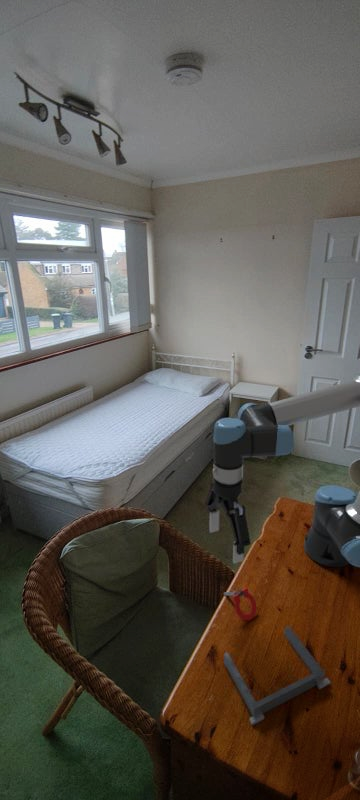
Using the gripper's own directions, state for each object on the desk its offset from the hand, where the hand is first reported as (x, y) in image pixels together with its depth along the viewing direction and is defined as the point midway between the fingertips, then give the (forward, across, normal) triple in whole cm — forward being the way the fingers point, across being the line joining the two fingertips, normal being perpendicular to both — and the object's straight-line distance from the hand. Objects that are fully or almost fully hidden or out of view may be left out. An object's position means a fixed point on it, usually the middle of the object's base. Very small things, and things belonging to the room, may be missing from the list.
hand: (225, 545), depth 104 cm
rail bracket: (+18, +24, 0) cm, 30 cm away
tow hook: (+21, +6, +2) cm, 22 cm away
